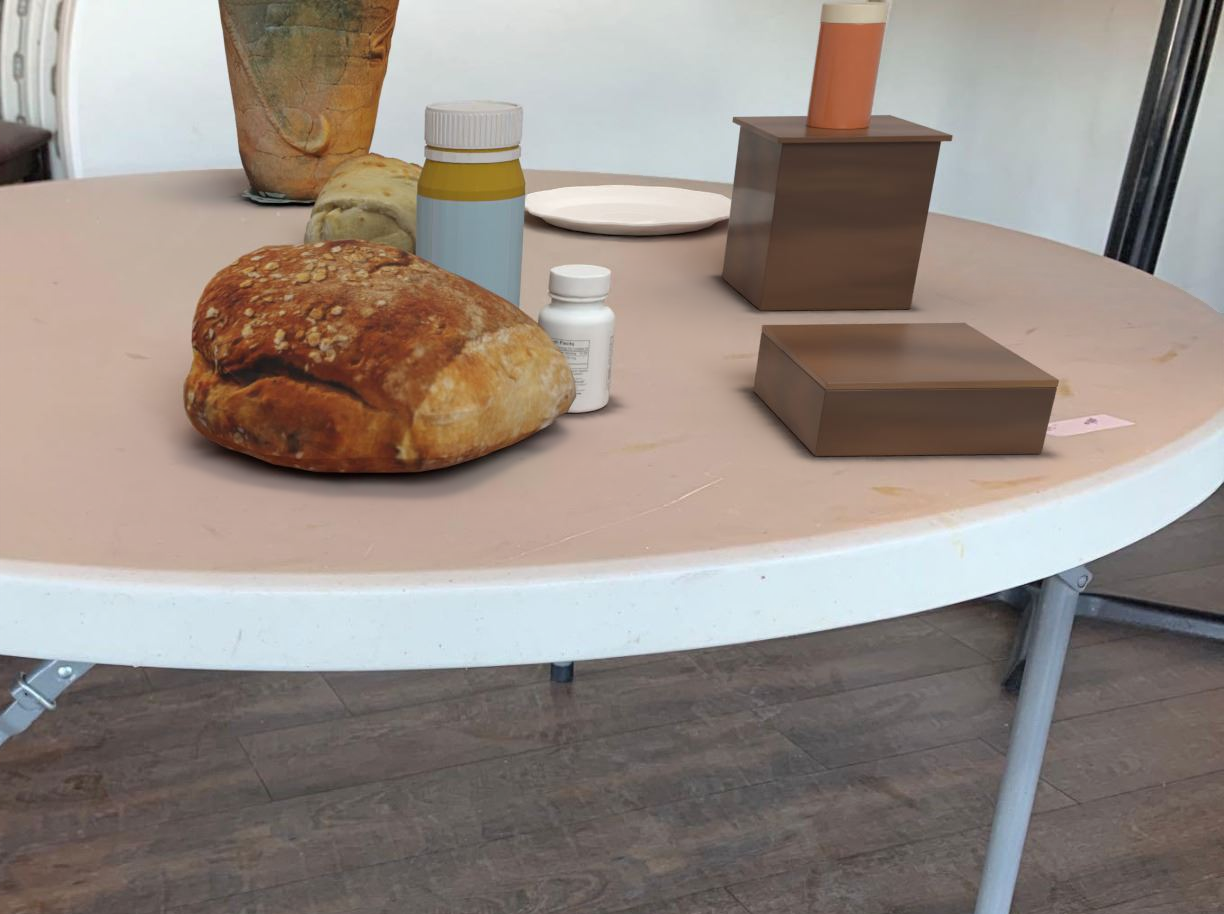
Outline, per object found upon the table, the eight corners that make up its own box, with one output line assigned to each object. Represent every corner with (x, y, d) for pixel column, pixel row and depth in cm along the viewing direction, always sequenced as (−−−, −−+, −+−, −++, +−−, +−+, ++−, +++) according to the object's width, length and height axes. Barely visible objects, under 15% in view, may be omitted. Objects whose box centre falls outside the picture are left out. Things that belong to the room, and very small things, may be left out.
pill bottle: (573, 388, 86) (583, 258, 82) (623, 405, 82) (636, 271, 79) (517, 400, 84) (525, 268, 80) (567, 418, 80) (577, 281, 77)
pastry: (409, 233, 130) (411, 141, 126) (479, 257, 120) (483, 159, 116) (270, 247, 125) (267, 152, 121) (330, 274, 115) (330, 171, 111)
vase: (438, 208, 141) (448, -135, 127) (240, 218, 137) (228, -135, 123) (386, 177, 159) (389, -127, 145) (210, 185, 156) (195, -126, 142)
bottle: (475, 361, 91) (485, 114, 84) (393, 343, 95) (395, 106, 88) (537, 340, 96) (551, 104, 88) (456, 324, 100) (463, 97, 93)
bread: (350, 366, 90) (350, 205, 86) (612, 413, 81) (628, 235, 76) (140, 453, 76) (126, 264, 71) (430, 522, 66) (436, 310, 62)
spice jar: (881, 125, 101) (901, 2, 97) (846, 130, 99) (866, 5, 95) (828, 120, 104) (845, 1, 100) (793, 125, 102) (809, 3, 98)
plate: (784, 221, 133) (787, 203, 132) (645, 251, 121) (647, 231, 121) (612, 194, 147) (614, 178, 146) (472, 219, 135) (473, 201, 135)
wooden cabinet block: (920, 310, 102) (953, 135, 96) (754, 312, 102) (778, 137, 96) (863, 274, 112) (890, 114, 107) (713, 276, 112) (732, 116, 107)
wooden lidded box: (1041, 454, 74) (1059, 379, 72) (814, 456, 74) (826, 382, 72) (951, 388, 85) (965, 322, 83) (752, 390, 85) (761, 324, 83)
